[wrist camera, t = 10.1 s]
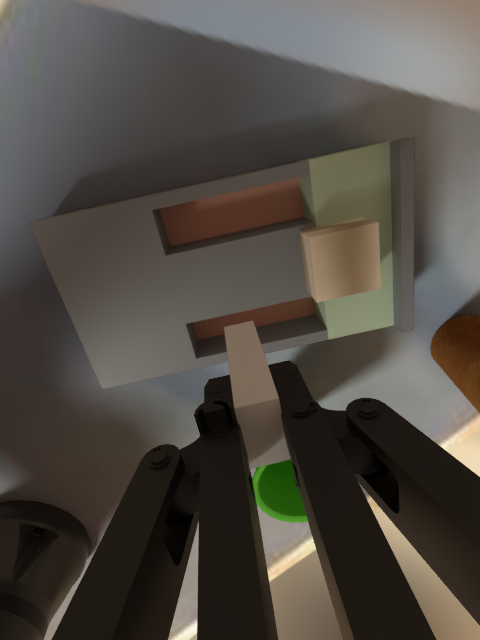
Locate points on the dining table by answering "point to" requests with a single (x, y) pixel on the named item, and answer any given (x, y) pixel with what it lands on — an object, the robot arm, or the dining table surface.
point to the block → (341, 258)
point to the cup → (279, 492)
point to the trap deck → (229, 262)
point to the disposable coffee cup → (460, 354)
